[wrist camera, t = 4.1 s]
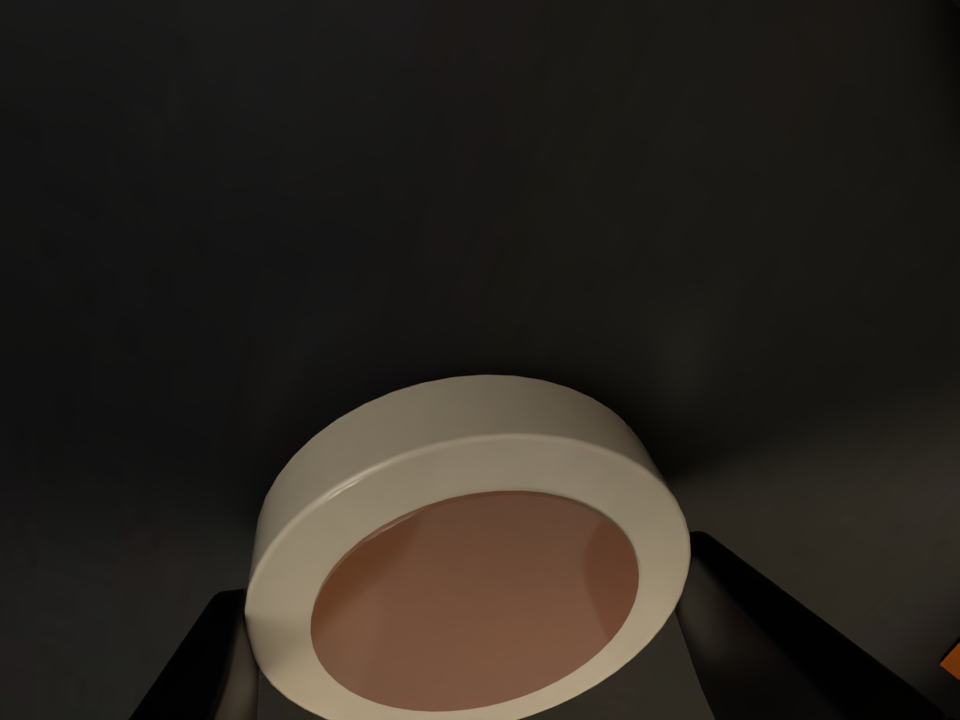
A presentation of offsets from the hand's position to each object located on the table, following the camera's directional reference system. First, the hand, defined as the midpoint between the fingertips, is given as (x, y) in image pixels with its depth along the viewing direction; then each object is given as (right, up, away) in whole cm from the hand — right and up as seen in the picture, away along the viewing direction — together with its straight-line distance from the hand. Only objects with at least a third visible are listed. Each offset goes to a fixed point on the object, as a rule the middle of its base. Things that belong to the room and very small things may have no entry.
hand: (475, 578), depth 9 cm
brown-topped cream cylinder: (0, +1, +1) cm, 1 cm away
